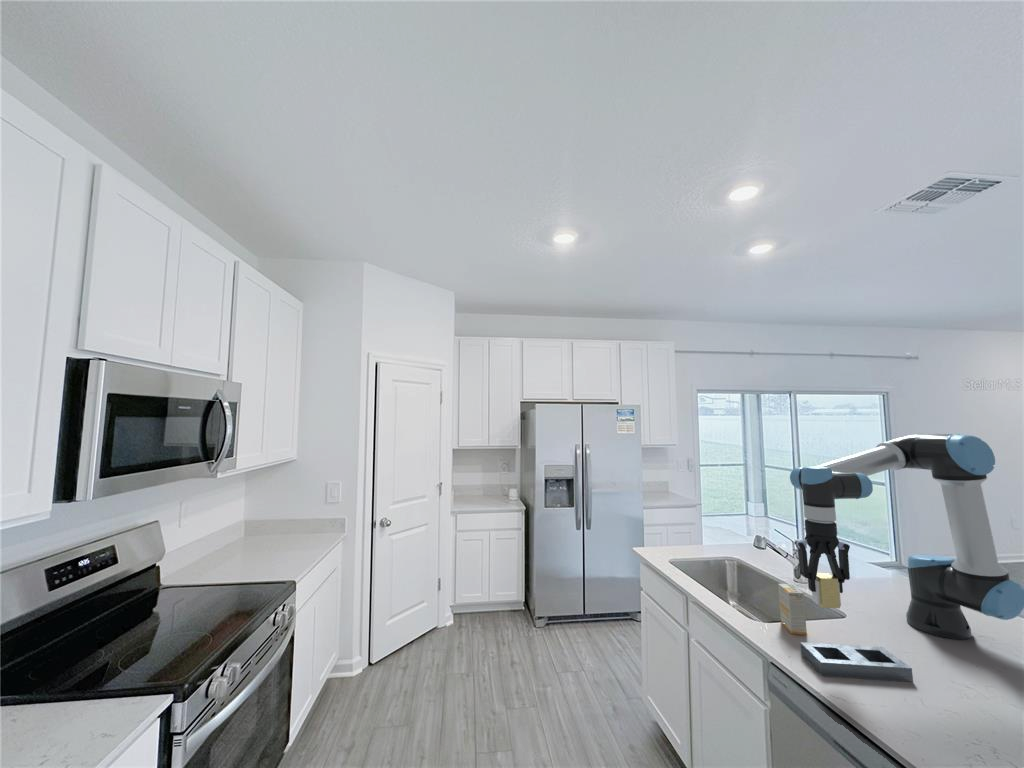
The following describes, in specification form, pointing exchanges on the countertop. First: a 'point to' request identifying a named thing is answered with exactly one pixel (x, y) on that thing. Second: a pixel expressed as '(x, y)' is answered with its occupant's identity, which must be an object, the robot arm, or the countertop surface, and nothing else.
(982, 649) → the countertop surface
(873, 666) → the grey flat slotted block
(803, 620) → the supplement box
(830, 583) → the brass block
